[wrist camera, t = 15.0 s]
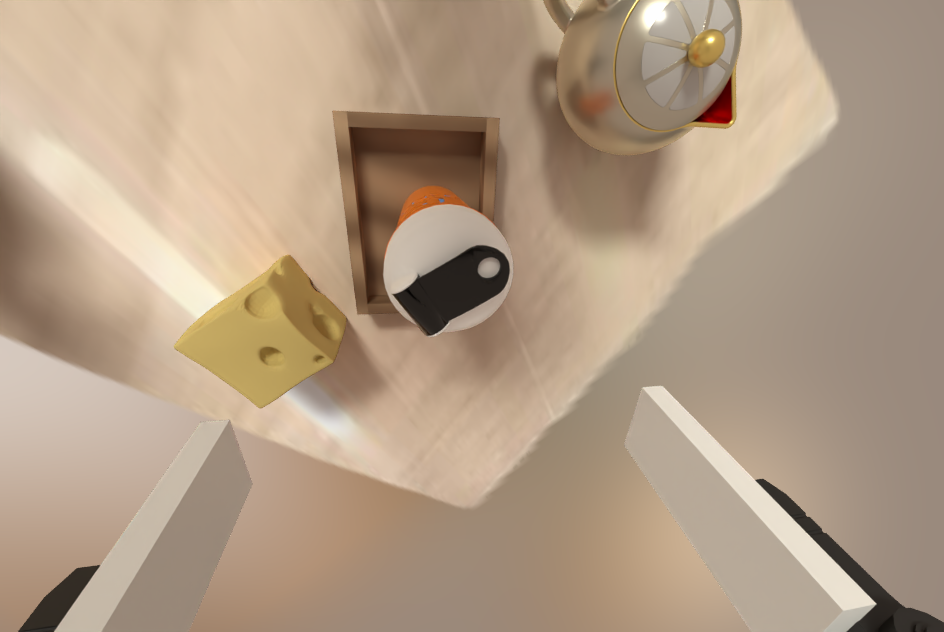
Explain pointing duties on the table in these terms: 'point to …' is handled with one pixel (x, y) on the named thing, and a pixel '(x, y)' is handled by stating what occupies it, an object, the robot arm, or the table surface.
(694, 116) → the teapot
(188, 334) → the cheese
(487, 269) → the shaker bottle
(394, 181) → the tray
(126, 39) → the table surface
